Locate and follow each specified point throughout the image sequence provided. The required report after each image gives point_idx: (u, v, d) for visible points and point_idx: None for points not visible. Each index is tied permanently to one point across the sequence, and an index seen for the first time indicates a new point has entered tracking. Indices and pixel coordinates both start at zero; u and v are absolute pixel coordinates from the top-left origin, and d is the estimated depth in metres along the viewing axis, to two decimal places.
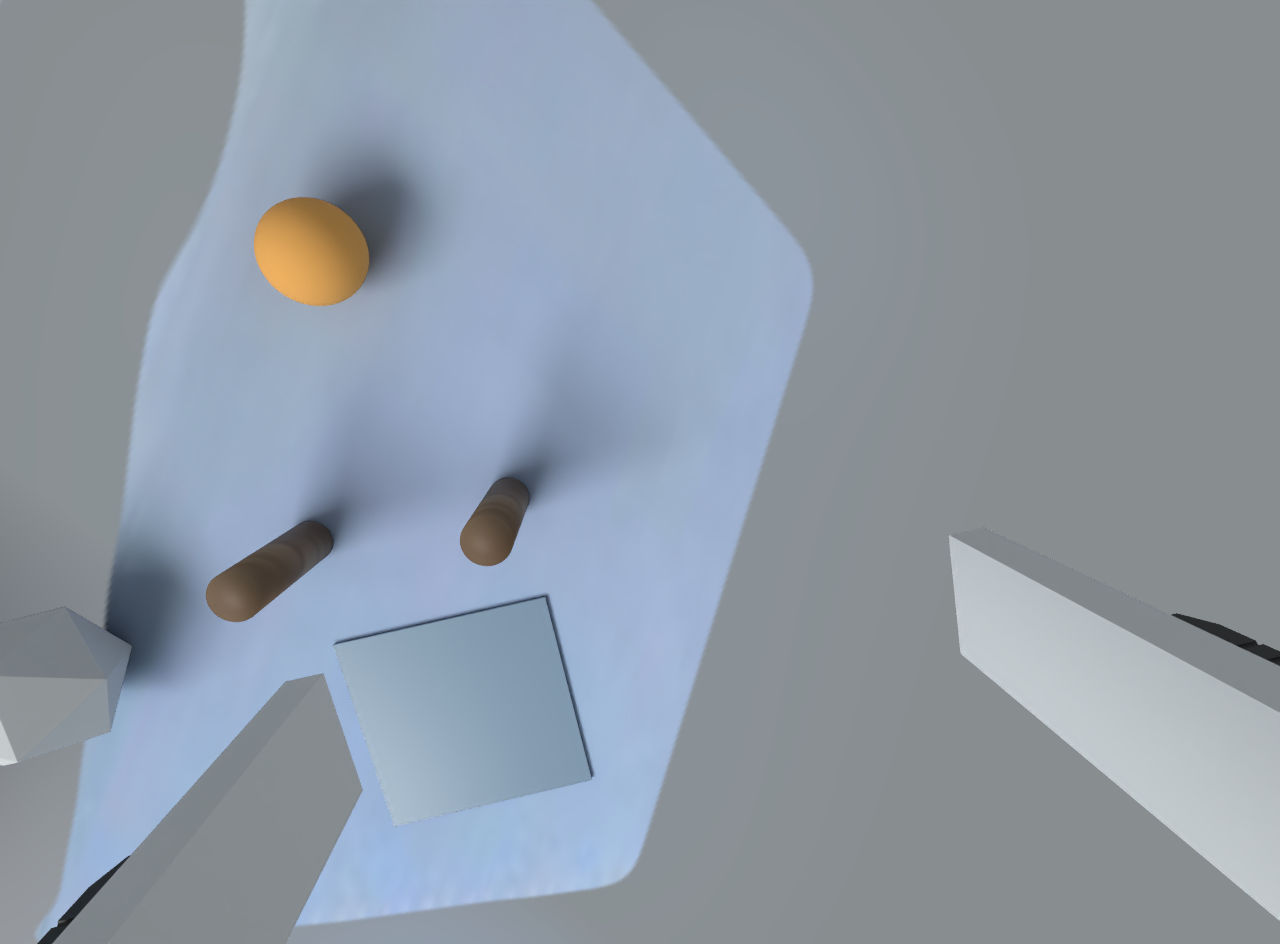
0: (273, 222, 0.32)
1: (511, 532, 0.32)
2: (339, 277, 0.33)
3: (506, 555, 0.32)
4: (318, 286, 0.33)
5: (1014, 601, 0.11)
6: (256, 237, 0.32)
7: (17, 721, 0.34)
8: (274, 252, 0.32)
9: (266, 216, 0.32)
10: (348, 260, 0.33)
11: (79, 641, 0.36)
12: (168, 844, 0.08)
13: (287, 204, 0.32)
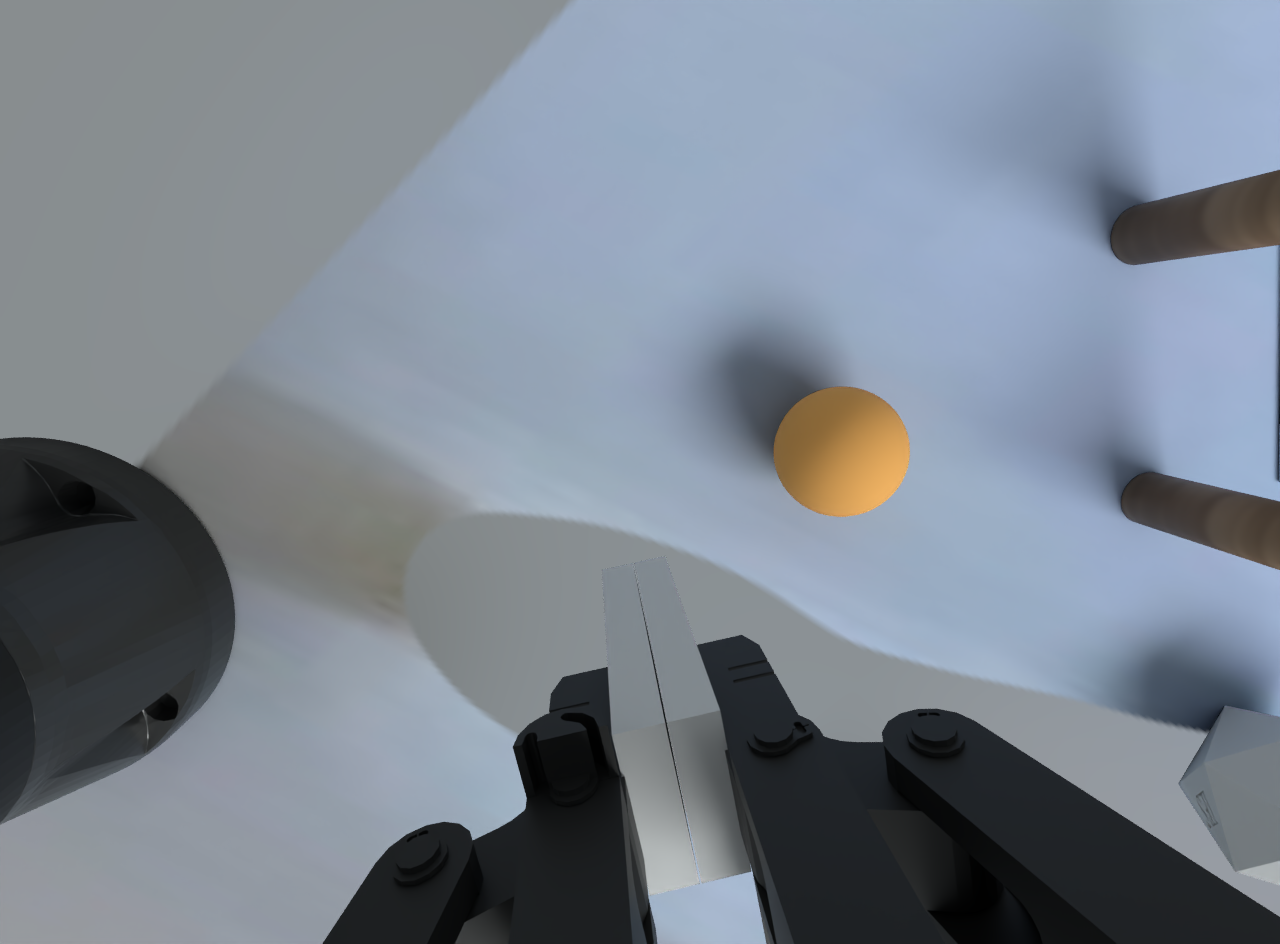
0: (833, 484, 0.25)
1: None
2: (891, 413, 0.25)
3: None
4: (904, 439, 0.25)
5: None
6: (841, 508, 0.26)
7: None
8: (871, 484, 0.25)
9: (818, 494, 0.26)
10: (870, 401, 0.25)
11: (1262, 750, 0.31)
12: (633, 651, 0.11)
13: (803, 468, 0.25)
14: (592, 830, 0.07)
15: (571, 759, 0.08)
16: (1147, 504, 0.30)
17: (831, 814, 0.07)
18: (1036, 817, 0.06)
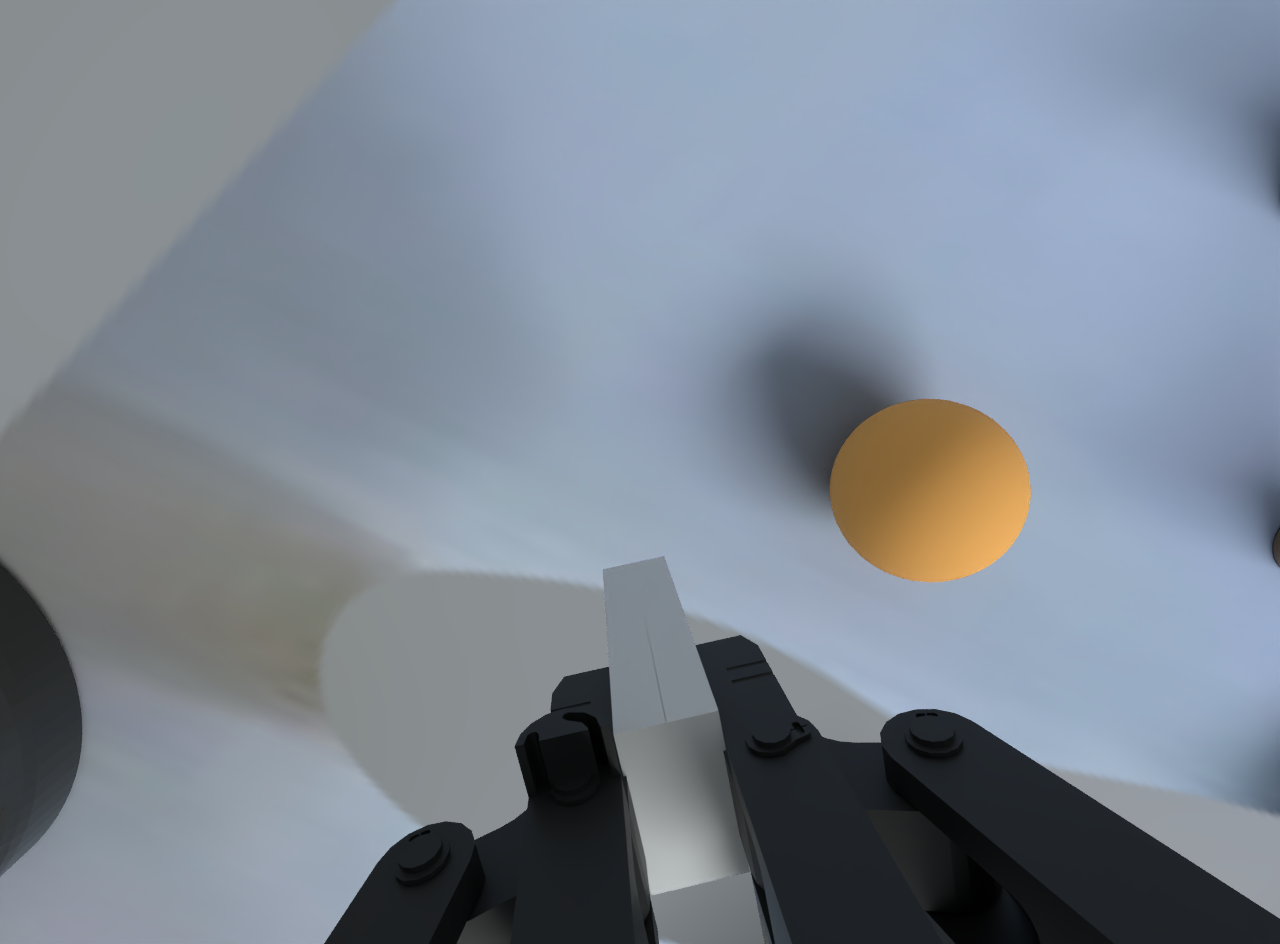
0: (927, 543, 0.17)
1: None
2: (1008, 439, 0.18)
3: None
4: (1027, 476, 0.18)
5: None
6: (934, 574, 0.18)
7: None
8: (983, 544, 0.17)
9: (902, 555, 0.18)
10: (978, 421, 0.18)
11: None
12: (634, 651, 0.11)
13: (882, 519, 0.18)
14: (594, 830, 0.07)
15: (573, 759, 0.08)
16: None
17: (829, 814, 0.07)
18: (1034, 818, 0.06)
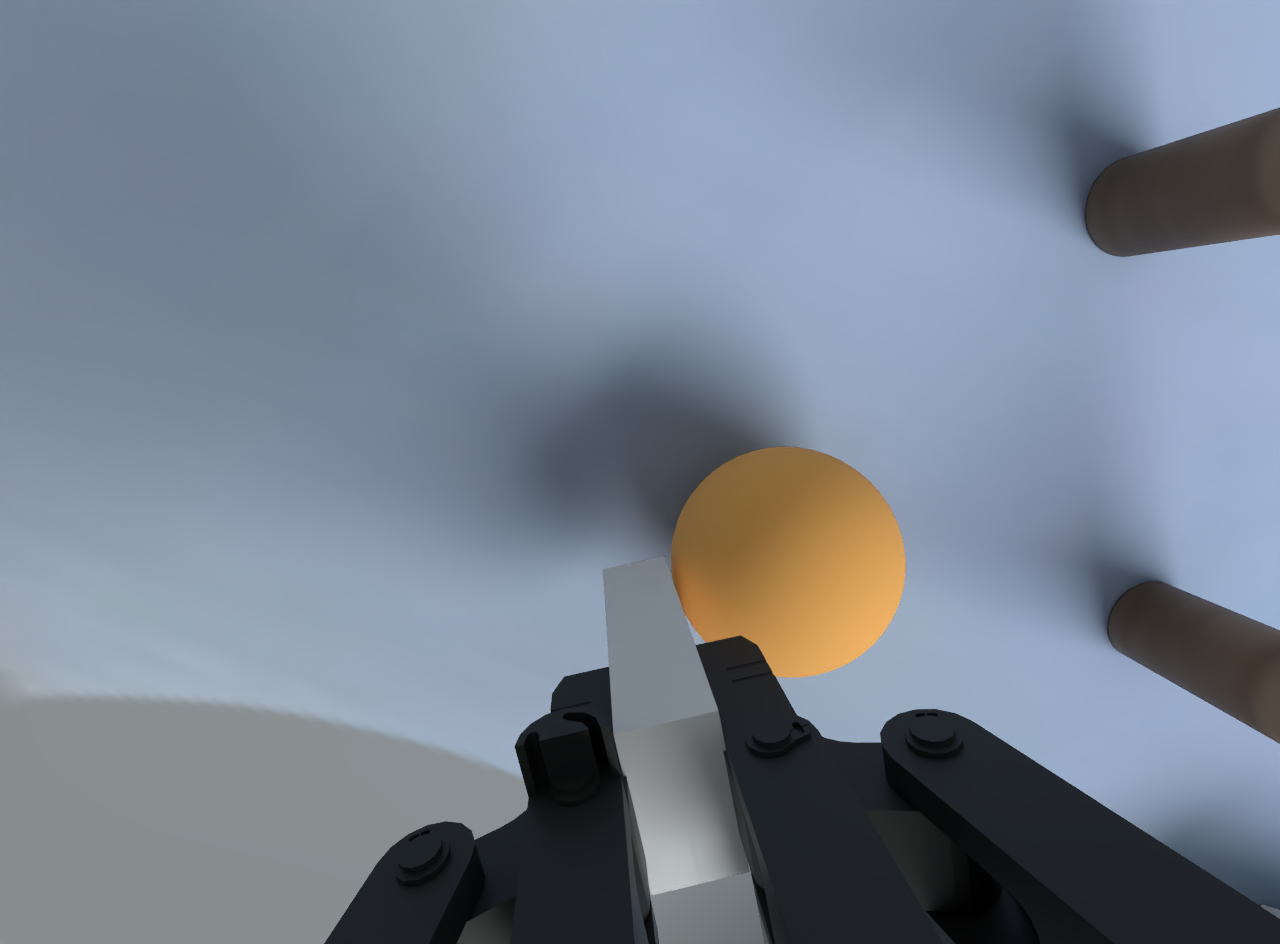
0: (900, 596, 0.14)
1: None
2: None
3: None
4: None
5: None
6: None
7: None
8: None
9: (881, 627, 0.14)
10: None
11: None
12: (634, 651, 0.11)
13: (873, 588, 0.13)
14: (594, 830, 0.07)
15: (573, 759, 0.08)
16: (1150, 641, 0.19)
17: (829, 815, 0.07)
18: (1034, 818, 0.06)
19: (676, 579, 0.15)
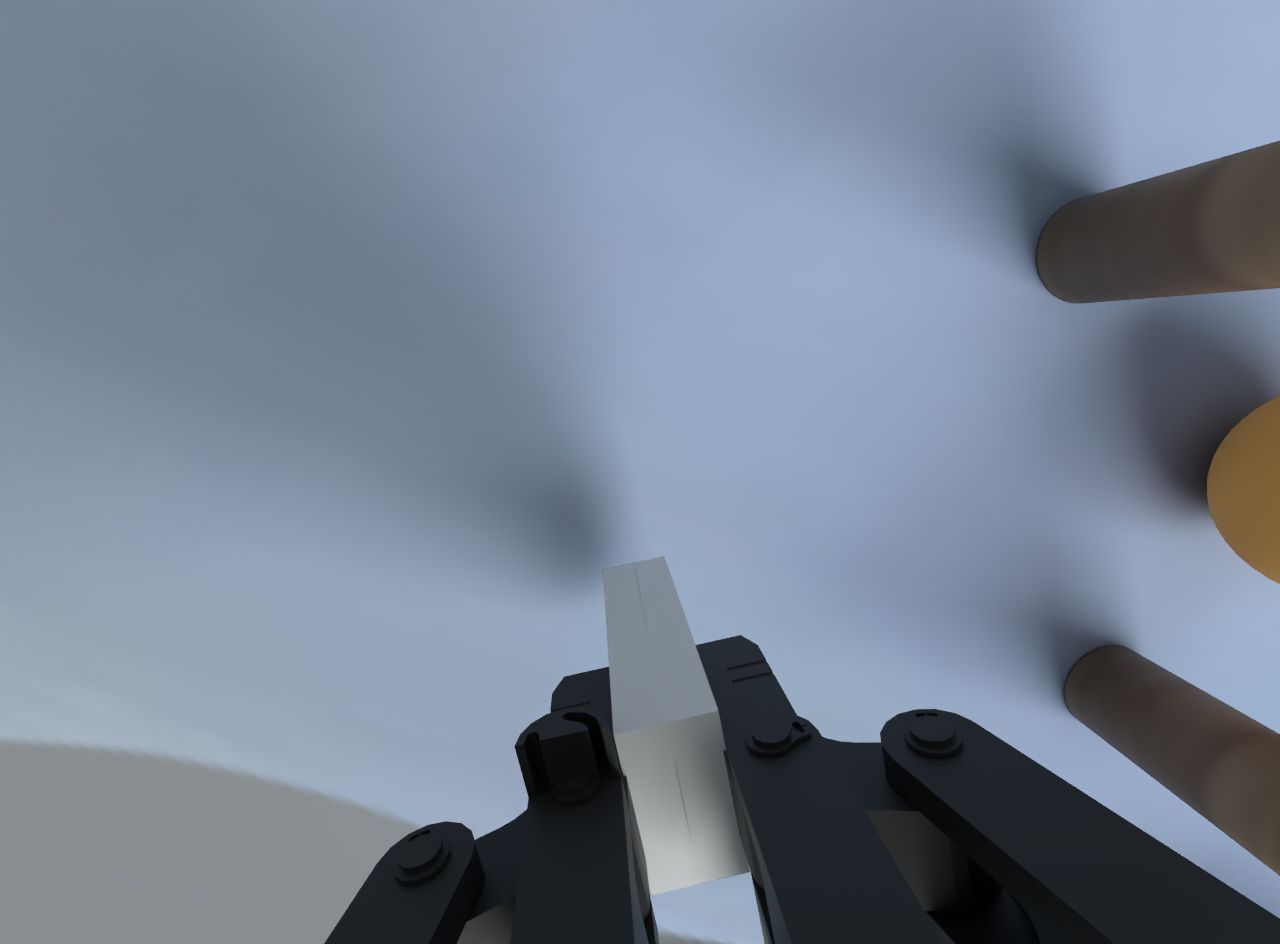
0: None
1: None
2: None
3: None
4: None
5: None
6: None
7: None
8: None
9: None
10: None
11: None
12: (634, 651, 0.11)
13: None
14: (594, 830, 0.07)
15: (573, 759, 0.08)
16: (1104, 713, 0.18)
17: (829, 815, 0.07)
18: (1034, 818, 0.06)
19: (1232, 495, 0.16)
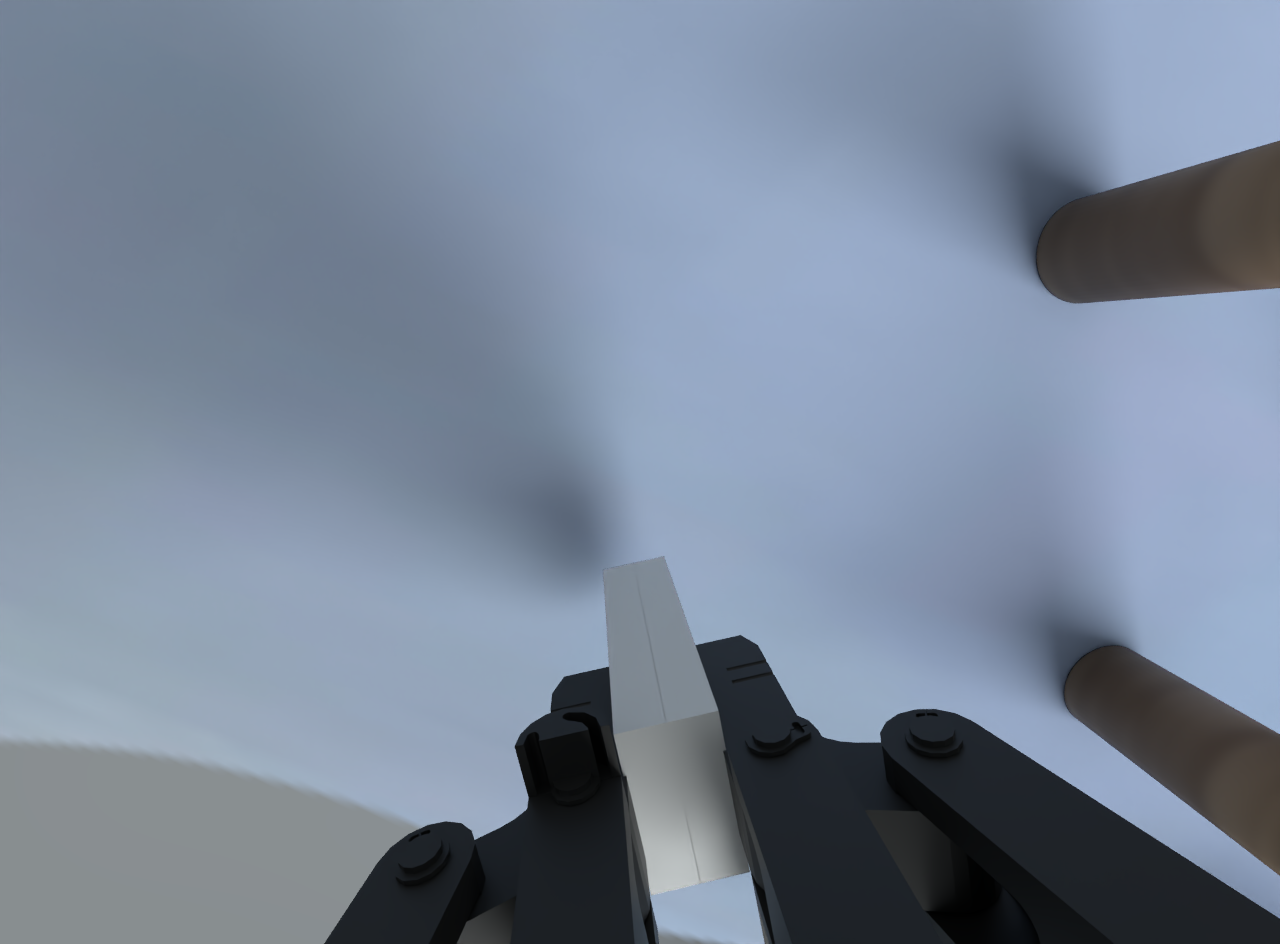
0: None
1: None
2: None
3: None
4: None
5: None
6: None
7: None
8: None
9: None
10: None
11: None
12: (634, 651, 0.11)
13: None
14: (594, 830, 0.07)
15: (573, 759, 0.08)
16: (1104, 713, 0.18)
17: (829, 814, 0.07)
18: (1034, 818, 0.06)
19: None
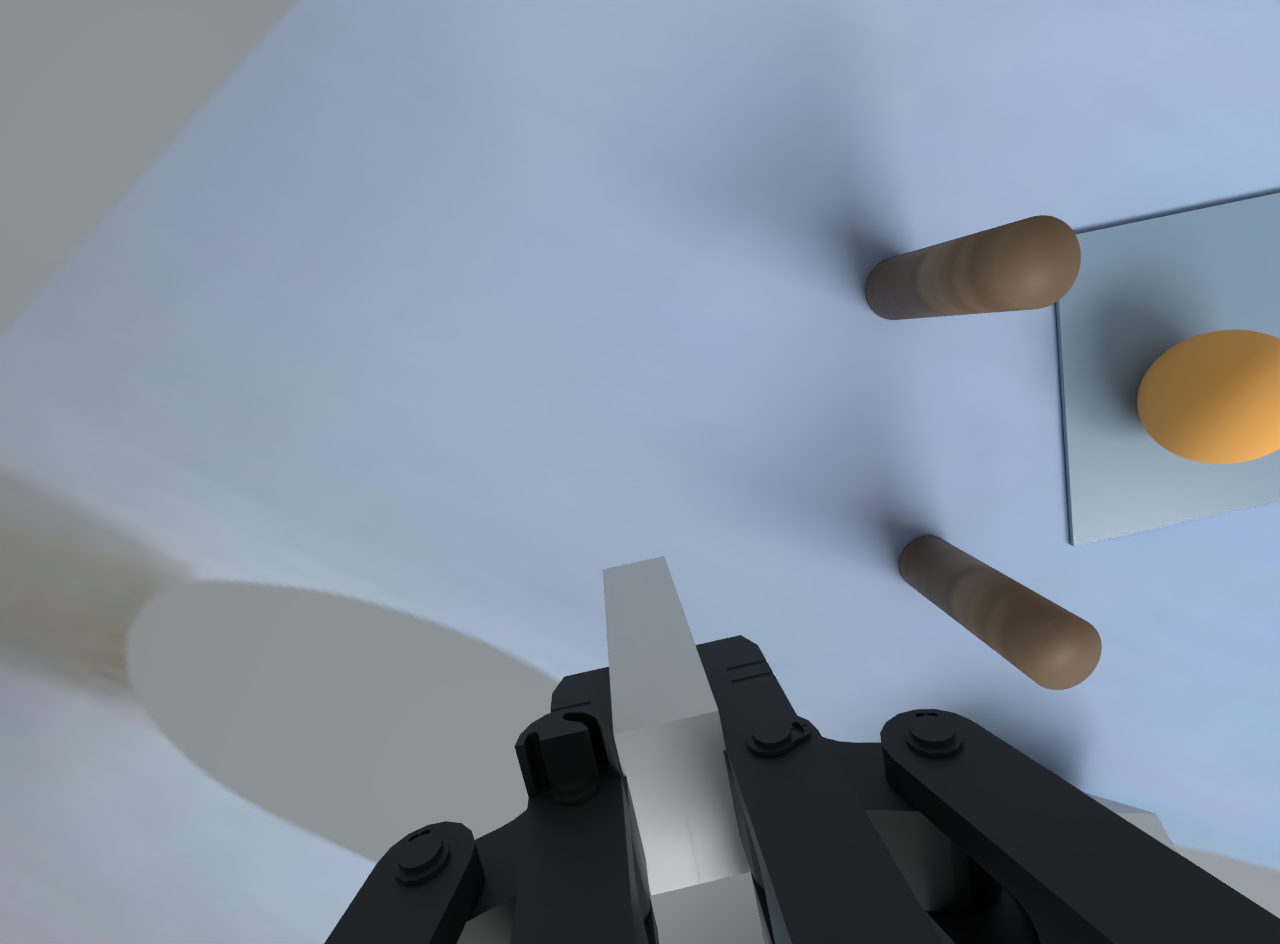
0: None
1: (1028, 218, 0.18)
2: (1159, 370, 0.26)
3: (1068, 228, 0.18)
4: (1148, 397, 0.27)
5: None
6: None
7: None
8: None
9: None
10: (1169, 352, 0.27)
11: None
12: (634, 651, 0.11)
13: None
14: (594, 830, 0.07)
15: (573, 759, 0.08)
16: (915, 572, 0.28)
17: (829, 814, 0.07)
18: (1034, 817, 0.06)
19: None
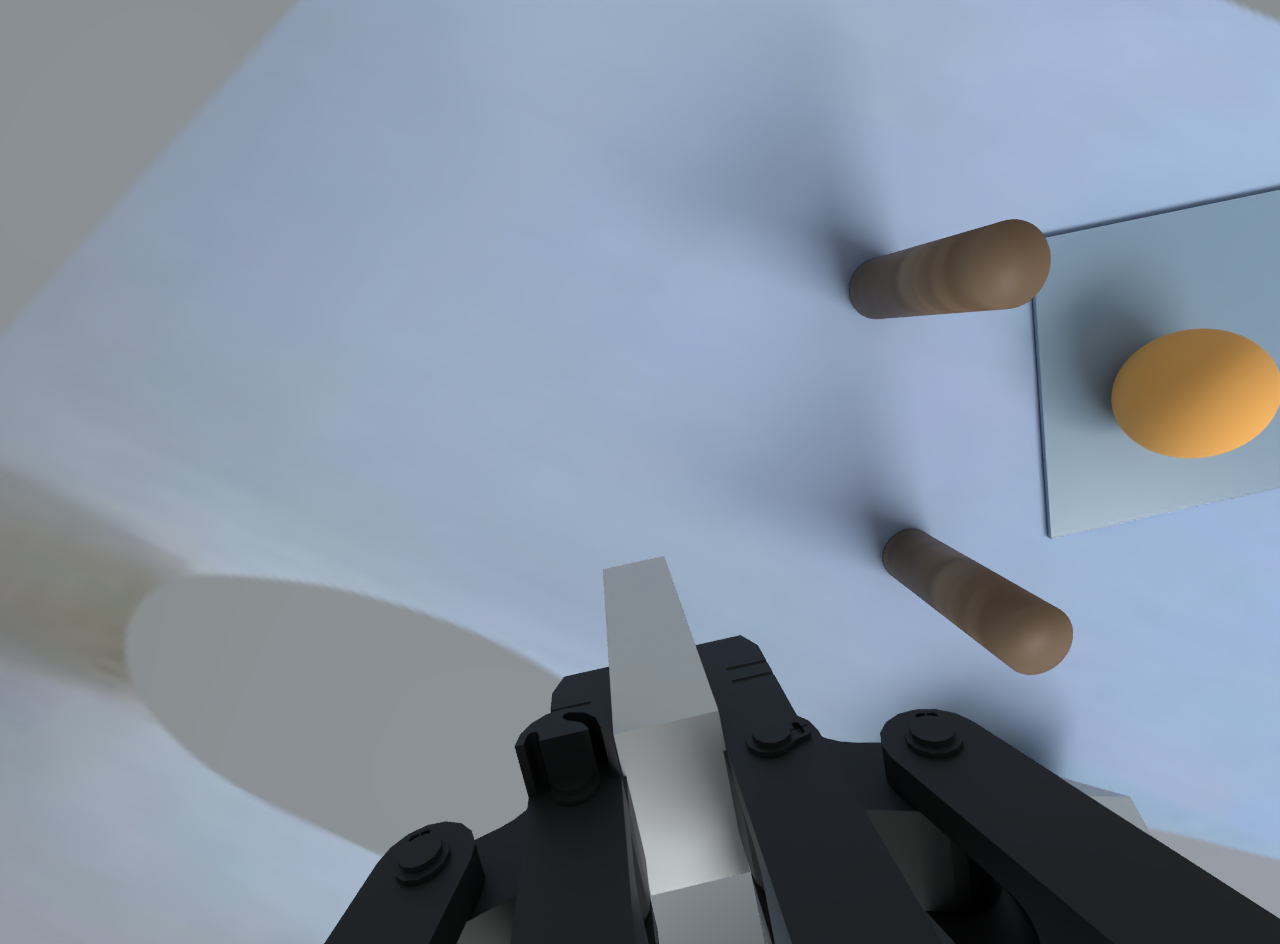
0: None
1: (1000, 222, 0.19)
2: (1131, 368, 0.27)
3: (1038, 232, 0.19)
4: (1121, 394, 0.28)
5: None
6: None
7: None
8: None
9: None
10: (1141, 350, 0.28)
11: None
12: (634, 651, 0.11)
13: None
14: (594, 830, 0.07)
15: (573, 759, 0.08)
16: (898, 564, 0.29)
17: (829, 815, 0.07)
18: (1034, 817, 0.06)
19: None
